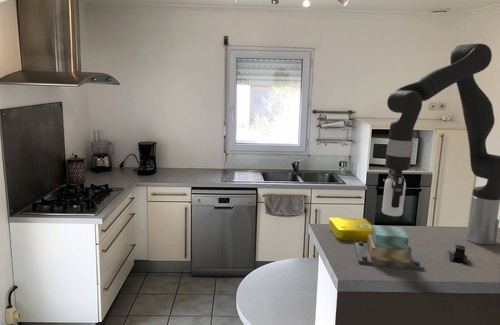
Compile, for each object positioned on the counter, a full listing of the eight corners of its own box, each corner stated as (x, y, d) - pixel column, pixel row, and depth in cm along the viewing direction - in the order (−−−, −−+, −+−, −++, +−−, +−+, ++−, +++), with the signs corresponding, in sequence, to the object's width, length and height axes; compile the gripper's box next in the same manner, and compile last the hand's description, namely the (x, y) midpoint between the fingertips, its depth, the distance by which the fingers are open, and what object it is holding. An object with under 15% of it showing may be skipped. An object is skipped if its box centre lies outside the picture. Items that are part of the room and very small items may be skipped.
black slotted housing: (471, 268, 132) (473, 255, 132) (446, 264, 135) (448, 251, 135) (468, 255, 144) (470, 243, 143) (445, 251, 147) (447, 239, 146)
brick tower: (412, 250, 144) (416, 226, 142) (424, 270, 128) (427, 243, 127) (354, 244, 147) (356, 220, 145) (358, 263, 132) (361, 236, 130)
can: (403, 212, 136) (407, 177, 134) (401, 218, 131) (405, 181, 128) (383, 209, 139) (386, 175, 137) (380, 214, 133) (384, 178, 131)
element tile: (363, 228, 167) (365, 216, 166) (377, 241, 152) (378, 229, 151) (327, 227, 166) (328, 215, 165) (337, 241, 151) (338, 228, 150)
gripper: (416, 158, 124) (409, 211, 127) (406, 151, 138) (400, 199, 141) (390, 156, 125) (384, 209, 128) (383, 149, 139) (378, 197, 142)
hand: (393, 204), depth 134 cm, fingers closed on can, 6 cm apart
